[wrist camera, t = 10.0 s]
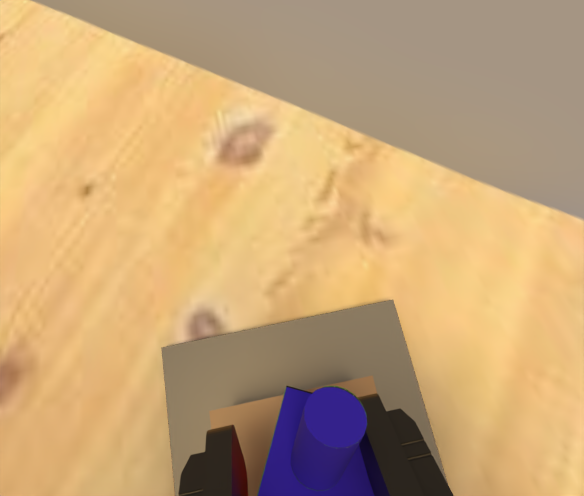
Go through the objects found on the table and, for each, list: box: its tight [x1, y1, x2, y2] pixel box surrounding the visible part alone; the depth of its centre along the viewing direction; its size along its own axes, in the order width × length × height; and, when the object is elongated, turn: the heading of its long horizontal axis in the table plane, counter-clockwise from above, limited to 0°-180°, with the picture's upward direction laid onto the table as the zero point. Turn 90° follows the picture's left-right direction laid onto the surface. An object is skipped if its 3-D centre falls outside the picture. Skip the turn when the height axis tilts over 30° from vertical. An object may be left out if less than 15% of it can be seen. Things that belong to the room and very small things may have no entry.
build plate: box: [162, 300, 448, 496], centre depth 19 cm, size 14×14×7 cm
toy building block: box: [257, 386, 374, 496], centre depth 12 cm, size 4×4×8 cm
